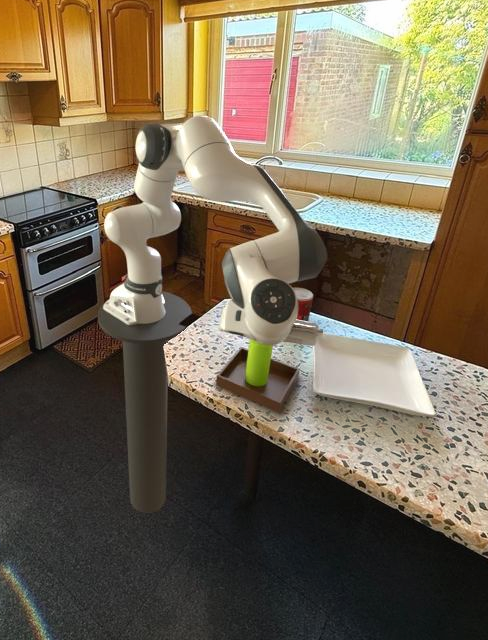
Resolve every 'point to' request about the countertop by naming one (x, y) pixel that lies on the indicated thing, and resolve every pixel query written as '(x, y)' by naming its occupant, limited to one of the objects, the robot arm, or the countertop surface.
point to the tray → (266, 395)
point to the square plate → (369, 374)
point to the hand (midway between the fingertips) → (265, 335)
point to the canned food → (303, 303)
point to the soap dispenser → (258, 363)
